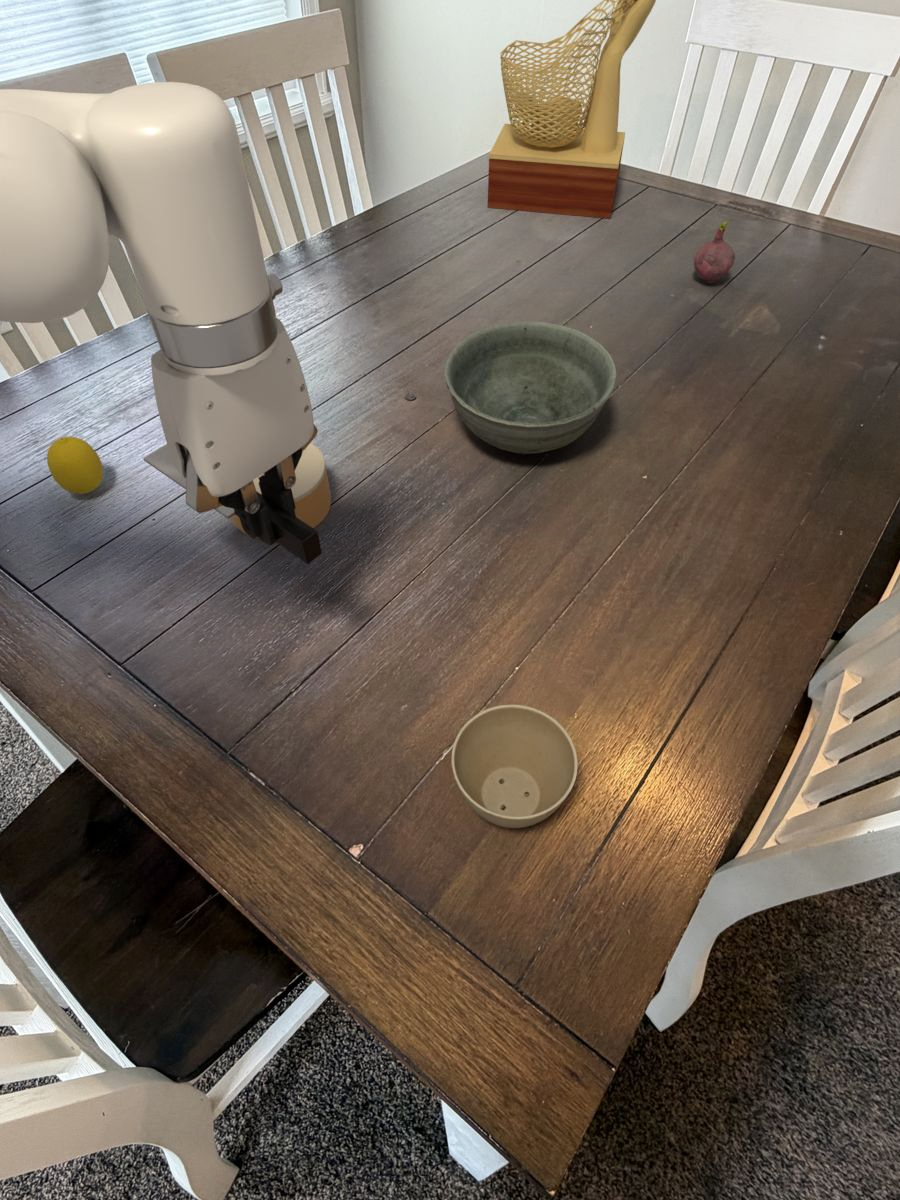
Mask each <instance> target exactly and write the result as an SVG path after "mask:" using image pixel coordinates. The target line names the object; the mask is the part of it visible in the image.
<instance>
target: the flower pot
mask: <svg viewBox="0 0 900 1200" xmlns="http://www.w3.org/2000/svg"><path fill="white" fill-rule="evenodd" d="M574 744H575V743H574V742H573V739H572V738H571V736H570V734H569V733H568V731H567V730H566V729H565V727H564V726H563V725H562V724H561V723H560V722H559V721H557V720H556V718H554V717H552V716H551V715H550V714H548V713H546V712H544V711H542V710H540V709H537V708H535V707H531V706H527V705H522V704H501V705H496V706H492V707H488V708H486V709H484V710H482V711H480V712H478V713H477V714H475V715H474V716H472V717H471V718H469V719H468V721H466V722H465V724H464V725H463V726H462V727H461V729H460V730H459V732H458V733H457V734H456V737H455V739H454V742H453V745H452V750H451V770H452V774H453V777H454V781H455V782H456V785H457V787H458V790H459V792H460V794H461V796H462V797H463V799H464V800H465V801H466V803H467V804H468V806H469V807H470V808H471V809H472V810H473V811H474V812H475V813H476V814H477V815H478V816H480V818H482V819H484V820H485V821H487V822H489V823H490V824H492V825H496V826H499V827H500V828H501V827H502V828H506V829H522V828H527V827H531V826H534V825H536V824H538V823H540V822H542V821H544V820H545V819H547V818H549V817H550V816H551V815H552V814H553V813H555V812H556V811H557V810H558V809H559V808H560V807H561V806H562V804H563V803H564V802H565V801H566V799H567V798H568V796H569V794H570V793H571V791H572V790H573V787H574V785H575V784H576V779H577V775H578V769H579V768H578V767H579V763H578V762H579V761H578V753H577V749H576V746H575V745H574Z"/></svg>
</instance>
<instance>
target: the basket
mask: <svg viewBox="0 0 900 1200" xmlns="http://www.w3.org/2000/svg"><path fill="white" fill-rule="evenodd" d="M656 2H657V0H602V1H601V2H600V3H598V4H596V5H595V6H594V7H593V8H592V9H591V10H590V11H588V13H586V15H584V16H583V17H582V18H581V19H579V21H578V22H577V23H576V24H575V25H574V26H573V27H572V28H571V29H570V30H568V32H566V33H565V34H564V35H562V36H559V37H557V38H554V39H552V40H549V41H547V42H544V43H543V42H534V41H527V40H519V39H516V40H514V41H513V42H511V43H510V44H508V45H506V47H504V48H503V50H501V51H500V53H499V54H500V71H501V78H502V85H503V86H502V87H503V91H504V98H505V102H506V108H507V113H508V119H509V123H504V125H503V126H502V128H501V130H500V132H499V134H498V136H497V138H496V140H495V142H494V143H493V146H492V147H491V149H490V151H489V154H488V176H487V177H488V178H487V180H488V182H487V208H489V209H497V210H498V209H499V210H508V211H509V210H511V211H520V212H521V211H523V212H531V213H532V212H533V213H545V214H554V215H565V216H567V215H568V216H575V217H576V216H577V217H587V218H598V219H611V216H612V211H613V206H614V202H615V197H616V192H617V187H618V182H619V175H620V170H621V162H622V157H623V151H624V144H625V137H626V131H618V129H619V128H618V127H619V112H620V111H619V110H620V93H621V68H622V60H623V57H624V55H625V53H626V52H627V51H628V49H629V48H630V47H631V45H632V44H633V43H634V41H635V40H636V38H637V37H638V35H639V33H640V31H641V30H642V28H643V26H644V24H645V22H646V21H647V19H648V17H649V15H650V14H651V12H652V10H653V8H654V6H655V5H656ZM609 3H610V4H609ZM603 4H604V5H603ZM608 4H609V5H608ZM607 5H608V6H607ZM606 6H607V7H606ZM601 7H602V8H601ZM605 7H606V8H605ZM610 7H612V8H611V9H610V11H608V12H607V10H608V9H609V8H610ZM595 14H596V15H595ZM594 15H595V16H594ZM603 15H605V16H603ZM593 16H594V17H593ZM598 16H599V18H598V19H597V17H598ZM592 17H593V18H592ZM587 21H588V22H587ZM605 21H606V24H604V22H605ZM592 22H594V23H593V24H592V25H591V26H590V27H589V28H588V29H586V27H587V26H588V25H590V24H591V23H592ZM597 24H598V26H596V25H597ZM595 26H596V27H595ZM594 27H595V28H594ZM600 27H601V29H600V30H598V29H599V28H600ZM606 27H607V28H606ZM582 31H584V32H583V33H582V34H581V32H582ZM576 33H577V34H576ZM575 34H576V35H575ZM580 34H581V35H580ZM600 34H601V35H600ZM574 35H575V37H574ZM579 35H580V36H579ZM607 36H608V37H607ZM596 37H598V39H597V40H596V41H594V40H595V39H596ZM572 38H573V40H572ZM606 38H607V39H606ZM570 40H572V41H571V42H570ZM605 40H606V41H605ZM569 42H570V43H569ZM598 42H599V43H598ZM517 43H518V44H517ZM603 43H604V45H603ZM530 44H532V45H530ZM554 44H555V45H554ZM562 44H563V45H562ZM552 45H554V46H552ZM561 45H562V46H561ZM602 45H603V47H602ZM537 46H538V47H540V48H536V47H537ZM522 47H526V48H524V49H523V48H522ZM594 47H595V48H594ZM601 47H602V49H601ZM593 48H594V49H593ZM530 49H533V51H531V52H529V51H528V50H530ZM544 49H548V50H546V51H545V52H543V51H541V50H544ZM554 49H556V50H555V51H553V52H552V50H554ZM511 50H512V51H511ZM516 50H520V51H519V52H515V51H516ZM561 50H562V51H561ZM590 51H591V52H590ZM537 52H538V53H539V54H535V53H537ZM588 52H589V53H588ZM522 53H526V54H525V55H522ZM587 53H588V54H587ZM508 54H509V56H508ZM553 55H554V56H553ZM517 56H518V57H517ZM529 56H531V57H529ZM542 56H545V57H542ZM537 58H538V60H536V59H537ZM582 58H583V59H582ZM592 58H593V59H592ZM523 59H524V60H523ZM581 59H582V60H581ZM586 59H587V61H586ZM552 60H553V61H552ZM517 61H518V63H516V62H517ZM529 61H532V62H529ZM542 61H544V62H542ZM584 61H586V62H584ZM523 64H524V65H523ZM567 64H568V65H567ZM573 64H574V65H573ZM566 65H567V66H566ZM572 65H573V66H572ZM588 66H589V67H588ZM578 67H580V69H579V68H578ZM583 69H586V71H585V72H583V71H582V70H583ZM578 75H580V76H578ZM586 76H588V77H587V78H586ZM583 78H584V81H581V80H582V79H583ZM570 79H571V80H570ZM588 82H590V83H588ZM570 85H572V86H571V87H570ZM585 86H586V88H585ZM581 88H582V89H581ZM573 89H575V91H574V90H573ZM580 89H581V90H580ZM586 91H587V93H586ZM569 93H571V94H569ZM573 96H574V97H573ZM572 97H573V98H572ZM585 101H586V102H585ZM583 108H584V109H583ZM521 121H522V122H521Z"/></svg>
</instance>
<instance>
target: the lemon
mask: <svg viewBox="0 0 900 1200" xmlns="http://www.w3.org/2000/svg"><path fill="white" fill-rule="evenodd" d="M46 456H47V457H46V461H47V467H48V470H49V472H50V474H51V476H52V478H53V480H54V481H55V482H56V483H57V484H58V485H59V486H60V487H61V488H62V489H64V490H65V491H67V492H70V493H73V494H77V495H83V494H90V493H91V492H92V491H95V490H96V489H97V488H98V487H99V486H100V484H101V482H102V481H103V477H104V467H103V464H102V460H101V457H100V456H99V454H98V453H97V452H96V450H95V449H94V448H93V447H92V445H90V444H89V443H88V442H87V441H85V440H83V439H82V438H79V437H75V436H63V437H59V438H57V439H56V440H54V441H53V442H52V444H51V445H50V446H49V448H48V450H47V454H46Z"/></svg>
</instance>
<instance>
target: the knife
mask: <svg viewBox="0 0 900 1200" xmlns="http://www.w3.org/2000/svg"><path fill="white" fill-rule="evenodd" d="M143 461H144V462H145V463H147V464H148V465H150V466H151V467H153V468H154V469H155V470H157V471H159V472H160V473H161V474H163V475H165V477H167V478H169V479H170V480H172V481H173V482H174V483H175V484H177V485H179V486H180V487H182V488H183V489H184V490H186V478H184V477H183V476H182V475H181V474H180V473H179V472H178V471H177V469H176V467H175V465H174V463H173V460H172V458H171V455H170V452H169V449H168V445H167V443H166V444H164V445H162V446H161V447H159V448H158V449H156V450H155V451H153V452H150V453H149V454H147V455H146V456H144V457H143ZM256 492H257V491H256ZM257 495H258V498H259V501H260V502H261V503H263V504H264V505H266V506H267V507H268V509H269V513H270V516H271V520H272V521H271V523H272V526H273V530H274V533H275V537H276V542H275V543H276V544H278V545H279V546H281V548H283V549H285V550H286V551H288V552H289V553H290V554H292V555H293V556H295V557H296V558H298V559H299V560H300V561H302V562H303V563H305V564H307V565H309V564H311V563H312V562H313V561H315V560H316V559H317V558H318V557H320V556H321V555H322V554H323V551H322V545H321V542H320V536H319V531H318V530H317V529H316V528H312V527H311V526H309V525H308V524H306V523H305V522H303V521H301V520H300V519H298V518H297V517H295V516H294V515H292V514H291V513H289V512H288V511H286V510H285V509H283V508H281V507H280V506H278V505H277V504H275V503H274V502H272V501H271V500H269V499H268V498H266V497H265V496H263V495H262V494H260V493H259V492H257ZM214 510H215V511H216V512H218V513H219V514H220V515H222V516H223V517H225V518H226V519H227V520H229V519H231V517H232V516H234V515H237V516H238V517H239V515H238V512H237V509H234V508H228V507H225V506H220V507H218V508H217V509H214Z"/></svg>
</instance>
